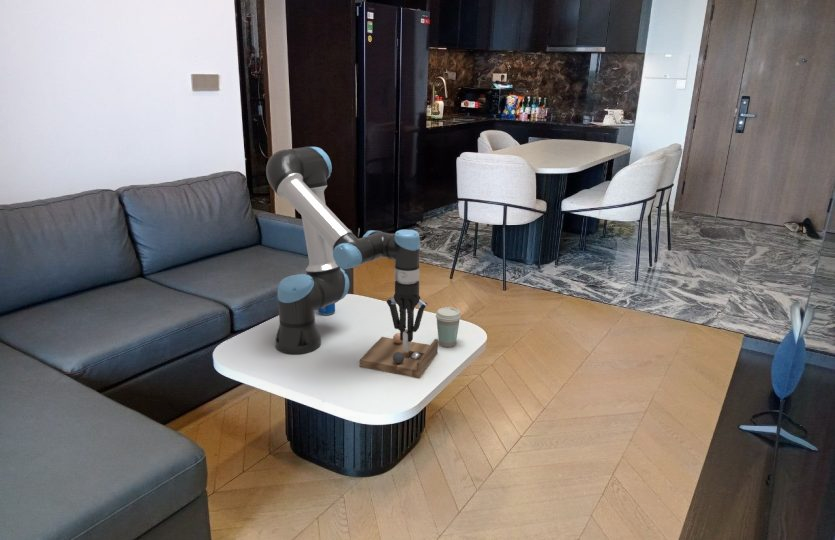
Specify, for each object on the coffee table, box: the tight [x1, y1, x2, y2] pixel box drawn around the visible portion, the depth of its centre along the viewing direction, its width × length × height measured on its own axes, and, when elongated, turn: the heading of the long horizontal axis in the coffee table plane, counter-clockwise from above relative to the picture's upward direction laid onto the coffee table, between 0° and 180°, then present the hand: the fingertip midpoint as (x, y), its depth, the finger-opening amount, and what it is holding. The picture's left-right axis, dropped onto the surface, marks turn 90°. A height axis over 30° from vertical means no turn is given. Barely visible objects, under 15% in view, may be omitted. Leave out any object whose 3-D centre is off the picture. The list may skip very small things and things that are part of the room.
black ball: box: [393, 352, 404, 363], centre depth 181 cm, size 4×4×4 cm
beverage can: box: [317, 303, 336, 316], centre depth 222 cm, size 6×6×12 cm
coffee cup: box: [435, 306, 462, 348], centre depth 199 cm, size 8×9×12 cm
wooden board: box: [359, 336, 439, 379], centre depth 188 cm, size 20×18×5 cm
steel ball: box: [410, 352, 421, 360], centre depth 186 cm, size 4×4×4 cm
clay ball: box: [392, 332, 403, 344], centre depth 194 cm, size 4×4×4 cm
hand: (406, 349), depth 187 cm, fingers closed
